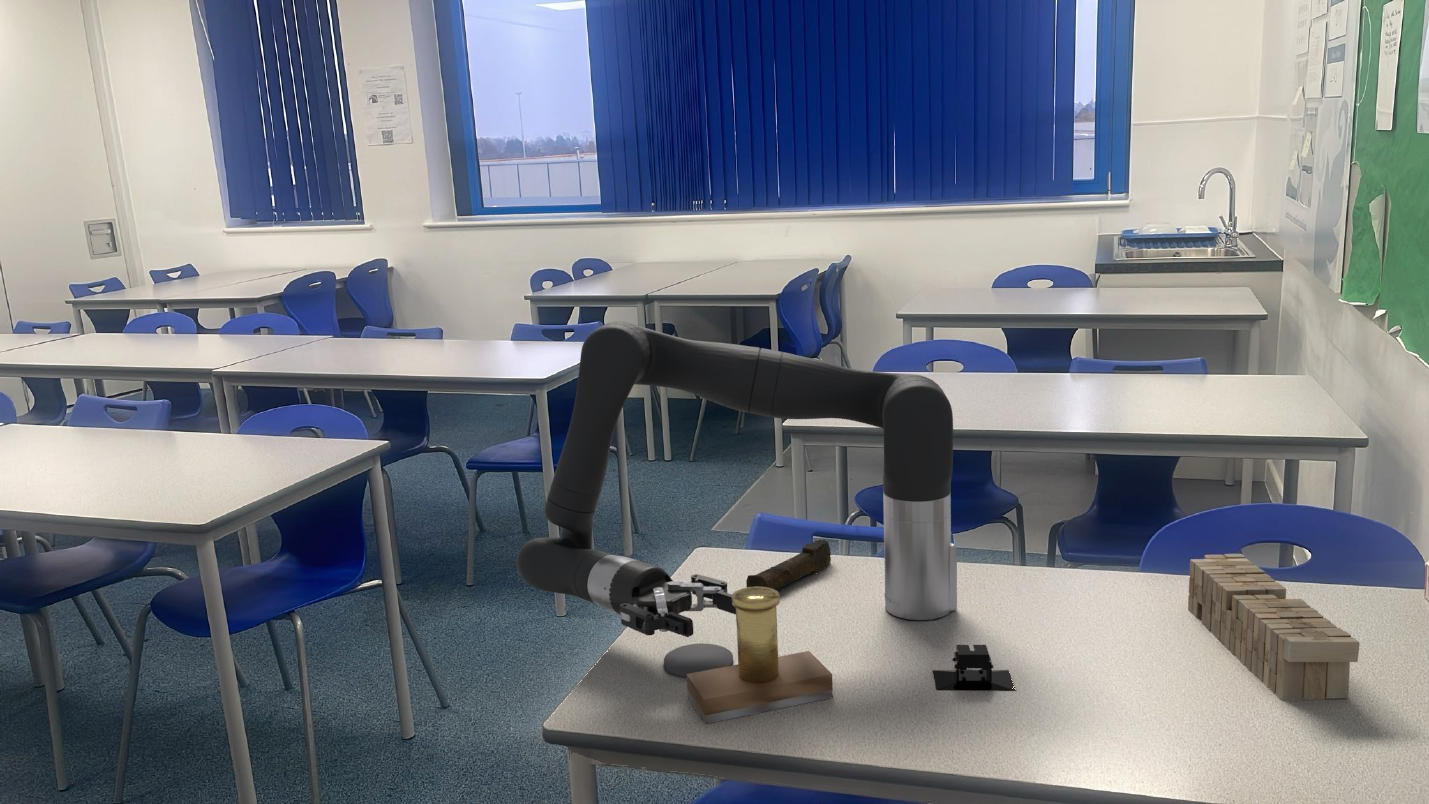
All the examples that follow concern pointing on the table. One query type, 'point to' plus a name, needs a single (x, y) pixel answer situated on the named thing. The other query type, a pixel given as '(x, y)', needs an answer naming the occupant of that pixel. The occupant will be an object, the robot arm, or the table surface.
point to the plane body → (758, 688)
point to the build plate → (972, 672)
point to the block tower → (1271, 629)
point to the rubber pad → (697, 659)
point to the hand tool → (794, 567)
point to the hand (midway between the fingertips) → (716, 617)
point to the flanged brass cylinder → (757, 633)
